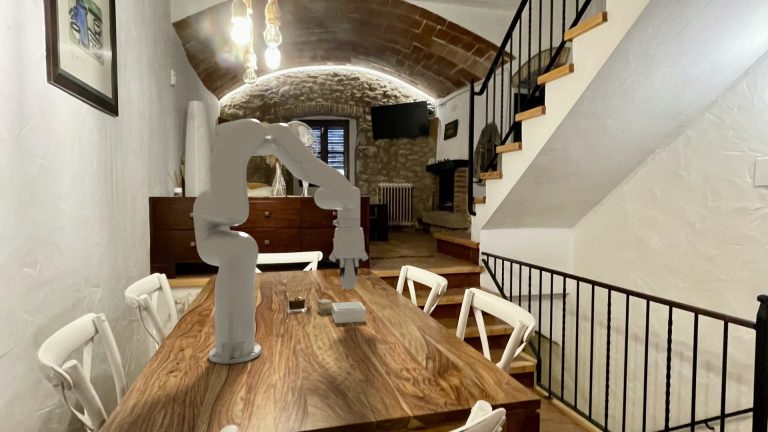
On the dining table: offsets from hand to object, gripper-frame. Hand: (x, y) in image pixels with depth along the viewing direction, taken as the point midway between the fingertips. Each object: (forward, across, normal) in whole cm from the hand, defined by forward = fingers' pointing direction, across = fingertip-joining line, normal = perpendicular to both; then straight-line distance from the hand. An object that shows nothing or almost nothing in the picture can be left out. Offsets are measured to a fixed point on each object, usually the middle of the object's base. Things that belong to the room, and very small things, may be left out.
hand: (348, 278), depth 137 cm
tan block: (+14, -7, +9) cm, 18 cm away
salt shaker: (+3, 0, 0) cm, 3 cm away
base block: (+14, 0, 0) cm, 14 cm away
